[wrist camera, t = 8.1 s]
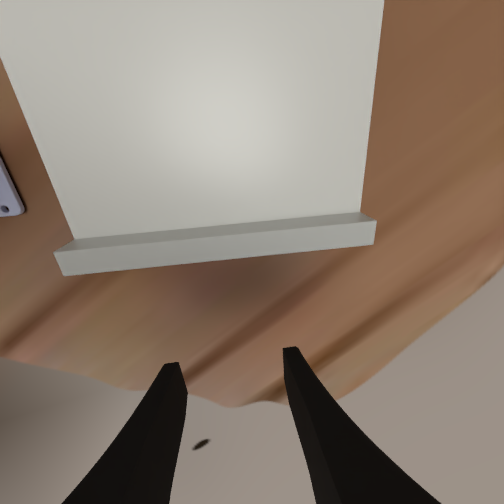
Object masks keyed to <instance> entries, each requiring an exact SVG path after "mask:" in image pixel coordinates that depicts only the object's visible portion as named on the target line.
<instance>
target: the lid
mask: <svg viewBox="0 0 504 504" xmlns="http://www.w3.org/2000/svg"><path fill="white" fill-rule="evenodd" d="M383 7H384V0H0V57H1V60H2V62H3V64H4V67H5V69H6V72H7V74H8V77H9V79H10V82H11V84H12V87H13V89H14V92H15V94H16V96H17V99H18V101H19V104H20V106H21V109H22V111H23V114H24V116H25V119H26V121H27V124H28V126H29V128H30V131H31V133H32V136H33V138H34V141H35V143H36V146H37V148H38V151H39V153H40V156H41V158H42V160H43V163H44V165H45V168H46V170H47V173H48V175H49V178H50V180H51V183H52V185H53V188H54V190H55V192H56V195H57V197H58V200H59V202H60V205H61V207H62V210H63V212H64V215H65V217H66V219H67V222H68V224H69V227H70V229H71V232H72V234H73V237H74V240H72V241H71V242H69V243H68V244H66V245H64V246H63V247H61V248H59V249H58V250H56V251H54V252H53V254H54V256H55V258H56V260H57V262H58V264H59V267H60V269H61V271H62V273H63V275H64V276H70V275H80V274H90V273H100V272H109V271H119V270H129V269H139V268H148V267H158V266H168V265H178V264H188V263H197V262H207V261H217V260H227V259H237V258H246V257H256V256H266V255H276V254H286V253H295V252H305V251H315V250H325V249H334V248H344V247H354V246H364V245H373V243H374V236H375V229H376V222H377V221H376V220H374V219H372V218H370V217H368V216H366V215H365V214H363V213H361V212H360V206H361V197H362V189H363V180H364V171H365V163H366V154H367V145H368V137H369V128H370V119H371V111H372V102H373V93H374V85H375V76H376V67H377V59H378V50H379V41H380V33H381V24H382V15H383Z"/></svg>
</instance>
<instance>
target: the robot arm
mask: <svg viewBox="0 0 504 504" xmlns="http://www.w3.org/2000/svg"><path fill="white" fill-rule="evenodd" d="M5 206H7V207H8V208H9V211H8V210H7V209H6V207H5ZM24 210H25V209H24V206H23V204H22V202H21V200H20V197H19V195H18V193H17V191H16V189H15V187H14V185H13V183H12V181H11V178H10V176H9V174H8V172H7V170H6V168H5V166H4V164H3V161H2V159H1V157H0V217H4V216H16V215H19V214H22V213H23V212H24ZM283 363H284V380H285V385H286V390H287V395H288V400H289V405H290V408H291V411H292V415H293V418H294V421H295V425H296V428H297V432H298V435H299V438H300V442H301V445H302V448H303V452H304V455H305V459H306V462H307V466H308V470H309V473H310V478H311V482H312V487H313V491H314V496H315V500H316V504H441V503H440V502H438V501H437V500H436V499H435V498H434V497H433V496H431V495H430V494H429V493H428V492H427V491H425V490H424V489H423V488H422V487H421V486H420V485H419V484H418V483H416V482H415V481H414V480H413V479H412V478H411V477H410V476H408V475H407V474H406V473H405V472H404V471H403V470H402V469H401V468H400V467H398V465H396V464H395V463H394V462H393V461H392V460H391V459H390V458H389V457H388V456H387V455H386V454H385V453H384V452H382V450H380V449H379V448H378V447H377V446H376V445H375V444H374V443H373V442H372V441H371V440H370V439H369V438H368V437H367V436H366V435H365V434H364V432H363V431H362V430H361V429H360V428H359V427H358V426H357V425H356V424H355V423H354V422H353V421H352V420H351V418H350V417H349V416H348V415H347V414H346V413H345V412H344V411H343V409H342V408H341V407H340V406H339V405H338V403H337V402H336V401H335V400H334V399H333V397H332V396H331V395H330V394H329V392H328V391H327V390H326V388H325V387H324V386H323V384H322V383H321V382H320V380H319V379H318V378H317V376H316V375H315V374H314V372H313V371H312V369H311V368H310V366H309V365H308V363H307V362H306V360H305V359H304V357H303V355H302V354H301V352H300V350H299V348H298V347H296V346H295V347H287V348H283ZM187 395H188V392H187V388H186V385H185V382H184V378H183V375H182V372H181V368H180V365H179V362H174V363H167V364H164V365H163V367H162V368H161V370H160V372H159V373H158V375H157V377H156V378H155V380H154V382H153V383H152V385H151V386H150V388H149V390H148V391H147V393H146V394H145V396H144V397H143V399H142V401H141V402H140V404H139V405H138V407H137V408H136V410H135V411H134V413H133V414H132V416H131V417H130V419H129V420H128V421H127V423H126V424H125V425H124V427H123V428H122V430H121V431H120V433H119V434H118V435H117V437H116V438H115V439H114V441H113V442H112V443H111V445H110V446H109V447H108V449H107V450H106V451H105V453H104V454H103V455H102V456H101V458H100V459H99V460H98V461H97V463H96V464H95V465H94V466H93V468H92V469H91V470H90V471H89V473H88V474H87V475H86V476H85V477H84V479H83V480H82V481H81V482H80V483H79V484H78V486H77V487H76V488H75V489H74V490H73V491H72V492H71V494H70V495H69V496H68V497H67V498H66V499H65V501H64V502H63V503H62V504H169V501H170V493H171V488H172V482H173V477H174V472H175V467H176V462H177V457H178V452H179V447H180V442H181V437H182V432H183V427H184V422H185V415H186V406H187Z"/></svg>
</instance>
